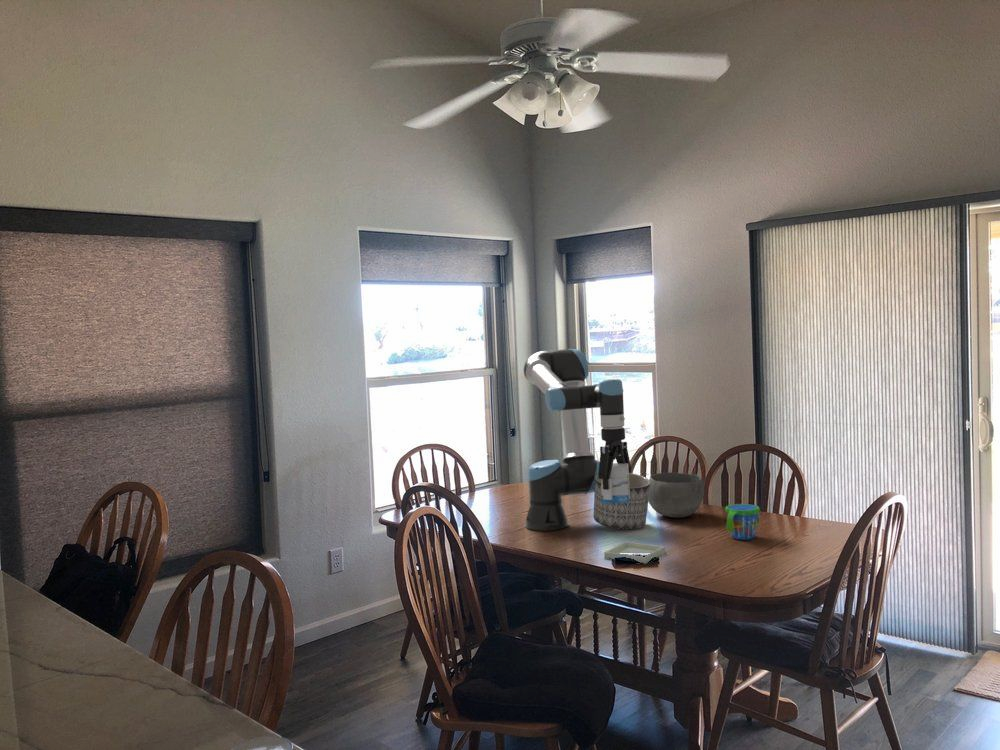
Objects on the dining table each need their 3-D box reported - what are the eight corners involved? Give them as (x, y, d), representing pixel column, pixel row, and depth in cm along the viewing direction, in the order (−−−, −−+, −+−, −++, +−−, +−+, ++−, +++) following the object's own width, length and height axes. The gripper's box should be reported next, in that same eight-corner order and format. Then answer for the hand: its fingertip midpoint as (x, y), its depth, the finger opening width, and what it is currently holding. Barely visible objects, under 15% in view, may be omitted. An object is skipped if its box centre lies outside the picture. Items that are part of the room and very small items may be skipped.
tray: (604, 558, 253) (604, 552, 253) (625, 547, 265) (625, 541, 265) (646, 564, 245) (645, 557, 245) (665, 552, 256) (665, 546, 256)
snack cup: (746, 530, 278) (745, 500, 278) (772, 536, 269) (771, 505, 269) (714, 539, 269) (713, 508, 269) (740, 545, 261) (739, 513, 260)
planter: (633, 538, 280) (637, 491, 277) (582, 525, 290) (585, 480, 287) (654, 522, 296) (658, 478, 293) (606, 511, 306) (609, 468, 303)
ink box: (628, 503, 259) (626, 466, 259) (601, 503, 261) (599, 467, 261) (630, 498, 268) (628, 462, 267) (604, 498, 270) (602, 463, 269)
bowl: (642, 521, 298) (640, 480, 297) (654, 509, 317) (652, 470, 316) (700, 524, 290) (698, 482, 289) (708, 511, 309) (707, 471, 308)
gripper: (605, 431, 252) (609, 503, 253) (639, 423, 271) (643, 490, 271) (584, 431, 257) (588, 502, 257) (619, 423, 275) (622, 489, 276)
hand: (616, 496), depth 264 cm, fingers closed on ink box, 10 cm apart
